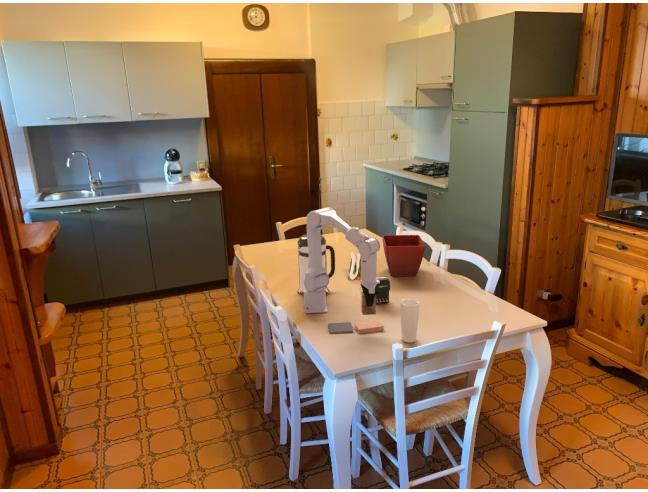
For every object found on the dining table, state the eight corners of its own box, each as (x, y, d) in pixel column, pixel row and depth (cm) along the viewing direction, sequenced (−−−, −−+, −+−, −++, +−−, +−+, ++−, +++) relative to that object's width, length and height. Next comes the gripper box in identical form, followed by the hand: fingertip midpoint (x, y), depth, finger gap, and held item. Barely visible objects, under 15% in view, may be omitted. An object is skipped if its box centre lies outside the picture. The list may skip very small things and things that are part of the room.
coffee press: (328, 300, 218) (327, 234, 210) (293, 298, 222) (290, 233, 213) (335, 286, 235) (334, 224, 226) (302, 284, 238) (300, 223, 229)
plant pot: (424, 278, 241) (425, 245, 236) (385, 279, 242) (385, 246, 237) (418, 265, 260) (419, 234, 255) (381, 266, 260) (381, 235, 255)
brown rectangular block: (362, 315, 188) (362, 295, 185) (361, 311, 191) (361, 291, 189) (375, 314, 188) (376, 294, 186) (374, 310, 191) (374, 291, 189)
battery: (375, 305, 212) (375, 280, 209) (372, 302, 216) (372, 277, 212) (390, 304, 213) (391, 279, 210) (388, 300, 217) (388, 276, 213)
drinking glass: (416, 335, 185) (417, 298, 181) (420, 343, 179) (421, 305, 175) (398, 335, 185) (398, 298, 181) (401, 344, 179) (402, 306, 174)
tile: (355, 328, 193) (358, 334, 188) (354, 323, 192) (358, 329, 188) (379, 325, 195) (383, 330, 190) (379, 320, 194) (383, 326, 190)
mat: (329, 333, 188) (329, 332, 188) (328, 324, 196) (328, 323, 195) (353, 332, 189) (353, 330, 189) (351, 323, 196) (351, 322, 196)
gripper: (383, 276, 178) (382, 311, 182) (376, 263, 192) (376, 296, 196) (363, 277, 177) (363, 312, 181) (358, 264, 191) (358, 296, 195)
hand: (368, 303), depth 188 cm, fingers closed on brown rectangular block, 3 cm apart
